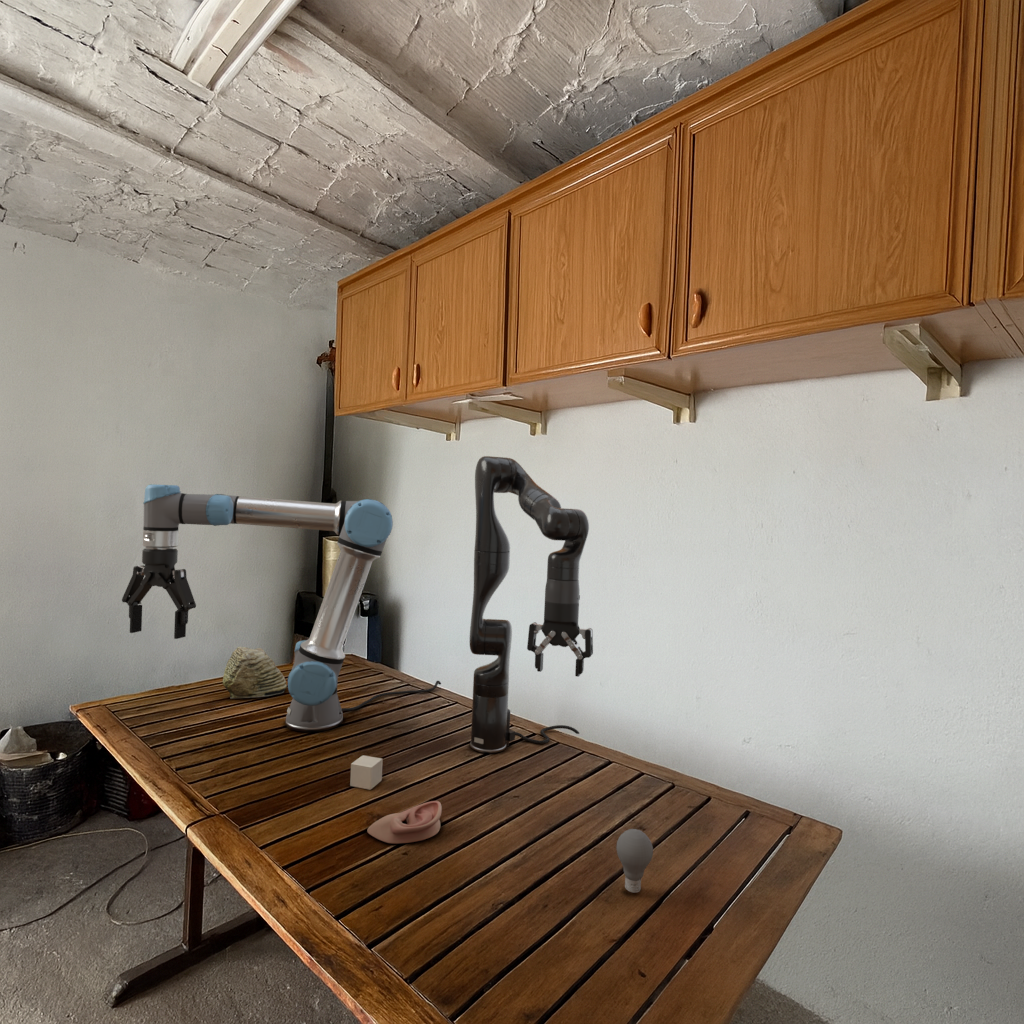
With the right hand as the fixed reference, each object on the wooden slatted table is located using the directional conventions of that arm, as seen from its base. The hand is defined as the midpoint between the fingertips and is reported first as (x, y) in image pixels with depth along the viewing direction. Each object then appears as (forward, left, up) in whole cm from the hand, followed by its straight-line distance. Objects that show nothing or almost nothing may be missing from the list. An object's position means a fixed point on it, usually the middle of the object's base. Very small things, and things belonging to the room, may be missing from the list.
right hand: (558, 673), depth 139 cm
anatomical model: (+34, -7, -27) cm, 44 cm away
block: (+30, -29, -27) cm, 50 cm away
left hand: (+61, -77, +1) cm, 98 cm away
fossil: (+27, -104, -27) cm, 111 cm away
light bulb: (+14, +32, -27) cm, 44 cm away
